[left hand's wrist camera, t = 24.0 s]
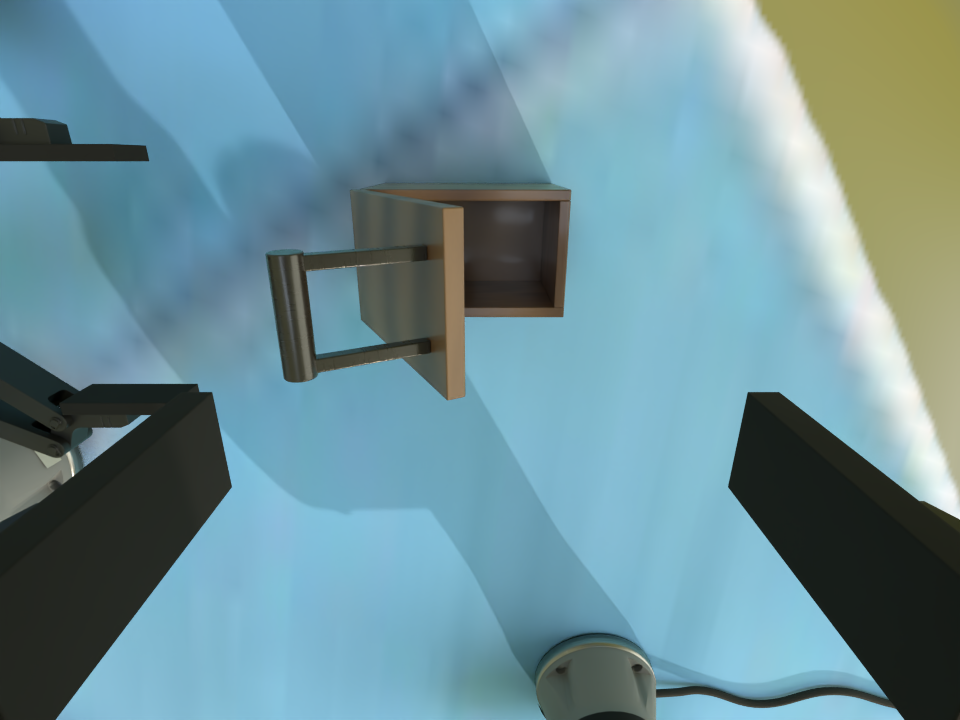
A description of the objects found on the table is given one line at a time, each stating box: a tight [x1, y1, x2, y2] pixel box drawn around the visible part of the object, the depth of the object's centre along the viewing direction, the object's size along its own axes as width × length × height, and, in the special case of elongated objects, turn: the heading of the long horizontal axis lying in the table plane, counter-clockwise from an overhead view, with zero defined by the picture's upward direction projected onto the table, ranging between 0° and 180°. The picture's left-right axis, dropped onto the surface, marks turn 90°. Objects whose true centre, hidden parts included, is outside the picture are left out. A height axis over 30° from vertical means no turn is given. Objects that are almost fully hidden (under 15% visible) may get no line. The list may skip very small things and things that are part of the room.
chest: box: [360, 183, 571, 317], centre depth 42 cm, size 15×9×10 cm, turn 90°
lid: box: [266, 190, 465, 400], centre depth 29 cm, size 16×9×8 cm
